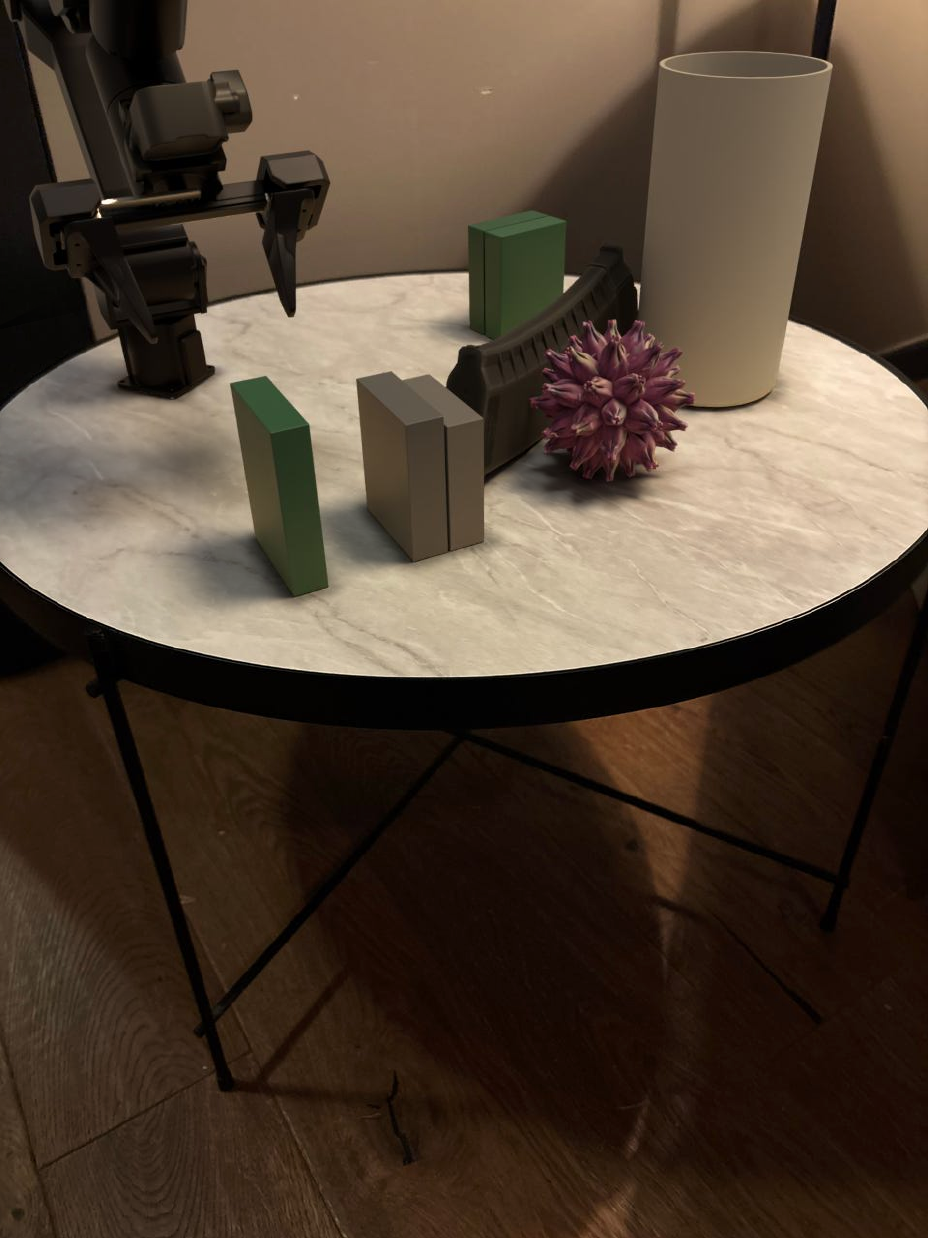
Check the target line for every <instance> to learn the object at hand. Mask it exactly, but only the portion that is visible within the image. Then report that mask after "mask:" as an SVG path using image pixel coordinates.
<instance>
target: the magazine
mask: <svg viewBox="0 0 928 1238" xmlns="http://www.w3.org/2000/svg"><path fill="white" fill-rule="evenodd" d="M632 271H633V270H632V269H631V268H630V266H628V264H627V263H626V259H625V255H624V248H623V247H622V245H620V244H617V243H616V244H614V243H608V242H604V243H603V244H602V245H601V247H600V248H599V252H598V255H597V257H596V258H595V259H593V260H592V261H591V262H590V263H589V264H588V265H587V268H586V270H585V271H584V272H582V274H581V275H580V276H579V277H578V278H577V279H576V280H575V281H574V282H573V283H572V284H571V285H570V287H568V288H567V289H566V290H565V291H563V294H562V295H561V296H560V297H559V298H557V299H556V300H555V301H554V302H553V303H551V304H550V305H549V306H548V307H547V308H545V309H544V310H543V311H541V312H540V313H539V314H537V315H536V316H534V317H533V318H531V319H529V320H528V321H526V322H525V323H523V324H521V325H519V326H518V327H516V328H514V329H513V330H511V331H510V332H508V333H507V334H505V335H503V336H501V337H499V338H497V339H495V340H494V339H492V340H490V341H487V342H485V343H482V344H478V345H474V344H466V345H464V346H462V347H460V348H459V350H458V353H457V354H458V355H457V361H456V364H455V365H454V367H453V368H452V370H451V371H450V373H449V374H448V376H447V379H446V382H445V387H446V388H447V389H448V390H449V391H451V392H452V393H453V394H454V395H455V396H457V397H458V398H459V399H460V400H462V401H463V402H464V403H465V404H466V405H468V406H469V407H470V408H471V409H473V410H474V411H475V412H476V413H477V414H479V415H480V416H481V417H482V418H483V425H484V476H487V475H488V474H490V473H491V472H492V471H494V470H496V469H497V468H499V467H501V466H503V465H505V464H506V463H507V462H509V461H511V460H512V459H514V458H515V457H517V456H519V455H520V454H522V453H523V452H525V451H526V450H528V449H529V448H530V447H532V446H533V445H534V444H537V442H538V441H540V440H542V438H544V437H543V433H542V431H544V430H545V429H547V428H548V427H549V426H550V425H551V423H552V421H553V419H554V418H546V416H545V412H543V411H542V410H540V409H537V408H531V407H530V406H531V404H530V403H531V402H530V401H529V399H530V398H535V397H539V396H541V395H542V394H544V392H543V388H542V387H543V386H544V384H552V383H551V382H550V381H549V379H547V378H546V377H544V376H542V371H543V370H544V368H547V369H550V370H553V368H552V366H551V363H550V362H549V361H548V360H547V359H546V358H545V357H544V355H543V354H544V353H546V351H547V350H548V349H550V350H552V351H554V352H555V353H559V354H566V353H565V351H566V348H568V347H570V343H569V341H568V339H570V337H571V336H574V335H575V336H576V337H577V338H578V340H579V341H581V342H582V341H583V335H584V331H583V322H587V323H588V321H591V322H592V324H593V327H594V329H595V330H596V331H597V332H598V333H600V334H601V335H602V336H604V334H605V332H606V330H607V327H608V321H609V320H610V321H611V320H614V319H615V320H616V326H617V331H618V333H619V335H620V336H621V338H622V337H623V336H624V335H625V334H627V332H628V331H629V330H630V329H631V328H632V326H633V324H634V322H635V320H637V319H638V307H639V298H638V297H639V296H638V295H639V294H638V289H637V286H635V281H634V276H633V274H632Z"/></svg>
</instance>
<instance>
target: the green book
mask: <svg viewBox="0 0 928 1238" xmlns="http://www.w3.org/2000/svg"><path fill="white" fill-rule="evenodd" d="M229 386H230V393H231V398H232V404H233V405H232V406H233V411H234V416H235V423H236V428H237V434H238V440H239V445H240V451H241V458H242V465H243V470H244V476H245V483H246V489H247V495H248V500H249V507H250V514H251V520H252V524H253V530H254V531H253V532H254V537H255V540H256V541H257V543H258V544H259V546H260V548H261V549H262V550H263V552H264V553H265V555H266V556H267V558H268V559H269V561H270V562H271V564H272V565H273V567H274V569H275V570H276V572H277V573H278V574H279V576H280V578H281V579H282V581H283V582H284V584H285V585H286V587H287V588H288V590H289V591H290V593H291V594H292V596H293V597H298V596H301V595H304V594H308V593H312V592H314V591H318V590H321V589H325V588H328V587H329V585H330V584H329V578H328V577H329V576H328V569H327V560H326V553H325V552H326V551H325V544H324V536H323V528H322V527H323V526H322V518H321V510H320V502H319V494H318V485H317V477H316V476H317V475H316V467H315V459H314V452H313V444H312V434H311V433H312V432H311V427H310V426H311V425H310V423H309V422H308V421H307V420H306V418H304V416H303V415H302V414H301V413H300V412H299V411H298V410H297V408H296V407H295V406H294V405H293V404H292V403H291V402H290V400H289V399H287V397H286V396H285V395H284V394H283V393H282V391H280V389H279V388H278V387H277V386H276V385H275V384H274V383H273V381H272V380H271V379H270V378H269V377H268V376H267V375H263V376H258V377H254V378H253V377H252V378H249V379H243V380H239V381H234V382H230V384H229Z"/></svg>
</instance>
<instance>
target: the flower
mask: <svg viewBox="0 0 928 1238" xmlns="http://www.w3.org/2000/svg"><path fill="white" fill-rule="evenodd" d="M644 326H645V321H642V322H640V321H637V320H635V322H634V324H633V326H632V328H631V329H630V330H629V331H628V332H627V334H625V335H624V336H623V337H622V338H621V336H620V335H619V333H618V331H617V326H616V320H615V319H614V320H611V321H610V320H609V321H608V327H607V330H606V332H605V334H604V336H602V335H601V334H600V333H598V332H597V331H596V330H595V329H594V327H593V324H592V322H591V321H588V323H587V322H583V331H584V335H583V341H582V342H581V341H579V340H578V338H577V337H576V336H575V335H574V336H571V337H570V339H568V341H569V343H570V347H568V348H566V351H565V353H566V354H559V353H555V352H554V351H552V350H550V349H548V350H547V351H546V353H544V354H543V355H544V357H545V358H546V359H547V360H548V361H549V362H550V363H551V366H552V368H553V370H550V369H547V368H544V370H543V371H542V376H544V377H546V378H547V379H549V381H550V382H551V383H552V384H544V386H543V387H542V388H543V392H544V394H542V395H541V396H539V397H535V398H530V399H529V401H530V402H531V403H530V404H531V406H530V407H531V408H537V409H540V410H542V411H543V412H545V416H546V418H554V419H553V421H552V423H551V425H550V426H549V427H548V428H547V429H545V430H544V431H542V433H543V437H542V438H544V440H545V441H547V440H548V441H547V442H545V444H544V446H543V448H545V451H544V452H545V453H546V454H551V453H552V452H555V451H558V450H559V451H560V450H566V451H567V453H568V454H570V455H572V460H571V462H570V464H569V467H570V468H571V469H572V470H574V471H577V470H578V469H579V467H580V466H581V465H582V468H583V470H582V471H583V472H582V478H585V479H587V480H588V479H589V480H592V478H593V477H594V474H595V472H597V471H598V470H599V469H600V468H601V467H603V469H604V472H605V475H606V482H611V481H613V480H614V474H615V471H616V469H617V466H618V465H620V466H621V467H622V468H623V469H624V472H625V474H626V476H627V477H629V478H632V477H633V476H634V477H635V475H636V468H635V467H636V463H637V464H640V465H641V466H643V467H644V468H645V470H646V471H647V472H648V473H650V472H651V471H652V470H655V471H656V470H657V468H659V463H658V461H657V459H656V447H658V448H665V449H666V450H668V451H670V452H674V453H675V450H676V447H677V446H678V441H676V439H674V438H673V436H672V433H671V432H674V431H681V432H687V431H686V429H687V428H688V427H689V424H688V423H687V422H685V421H683V420H681V419H679V417H678V416H677V415H676V414H675V413H676V412H677V411H678V410H679V409H681V408H683V407H685V406H690V404H694V403H695V402H694V401H695V398H694V396H695V393H689V392H684V391H682V390H680V389H681V388H683V387H684V385H685V384H686V383H685V381H683V380H682V379H676V380H674V379H673V377H674V376H675V375H676V374H678V373H679V372H680V368H679V366H678V365H677V366H674V367H672V365H673V364H674V362H675V361H676V360H677V359H678V358H679V357H680V356H681V355H682V353H683V350H681V351H679V347H676V348H674V349H672V350H671V351H669V352H666V353H660V352H661V350H662V349H663V348H664V345H662V343H661V342H657V343H656V344H655V345H654V346H653V347H652V343H653V341H654V339H655V338H654V337H653V335H650V334H647V335H646V336H645V337H644V338H643V329H644Z"/></svg>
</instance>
